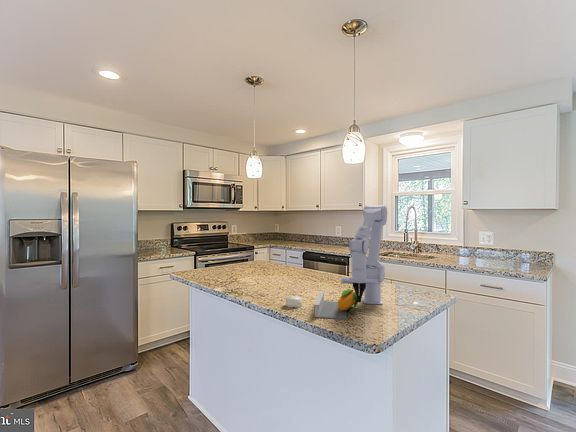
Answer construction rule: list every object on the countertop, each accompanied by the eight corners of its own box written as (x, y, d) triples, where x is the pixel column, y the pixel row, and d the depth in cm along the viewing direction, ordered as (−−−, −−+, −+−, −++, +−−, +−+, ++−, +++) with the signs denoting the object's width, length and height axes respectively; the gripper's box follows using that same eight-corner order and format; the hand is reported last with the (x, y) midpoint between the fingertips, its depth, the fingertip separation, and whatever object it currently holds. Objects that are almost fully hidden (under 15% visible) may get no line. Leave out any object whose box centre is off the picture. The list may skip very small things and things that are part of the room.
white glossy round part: (287, 303, 136) (287, 295, 136) (302, 304, 135) (302, 296, 135) (284, 307, 130) (284, 299, 130) (300, 308, 128) (300, 300, 128)
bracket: (320, 301, 138) (320, 290, 138) (347, 303, 135) (347, 291, 135) (314, 317, 116) (314, 304, 116) (346, 319, 114) (346, 306, 114)
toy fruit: (360, 286, 132) (350, 297, 114) (361, 303, 132) (351, 318, 114) (343, 286, 135) (331, 297, 117) (345, 303, 135) (332, 316, 117)
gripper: (340, 269, 121) (340, 303, 121) (378, 270, 118) (378, 305, 118) (341, 266, 128) (341, 298, 128) (376, 267, 125) (377, 300, 125)
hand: (359, 301), depth 124 cm, fingers closed
